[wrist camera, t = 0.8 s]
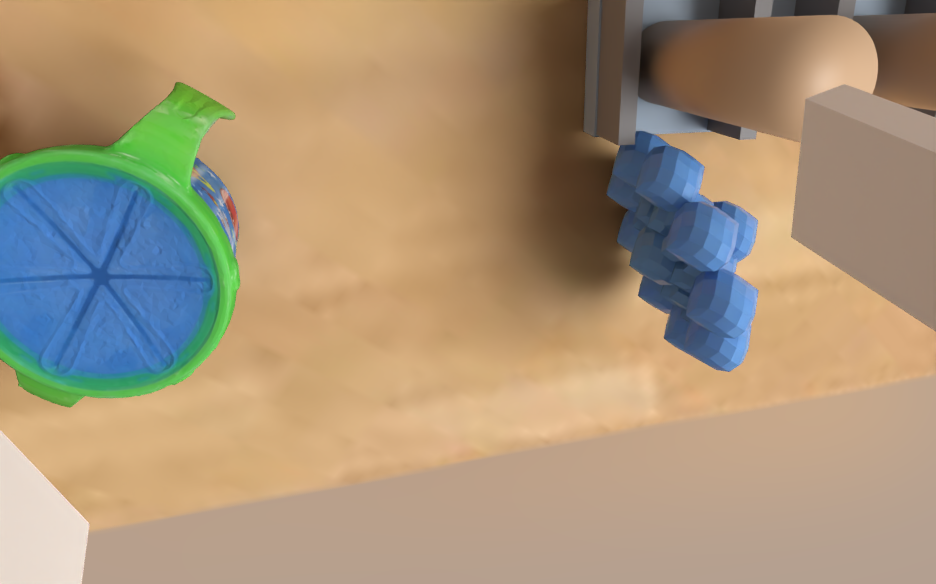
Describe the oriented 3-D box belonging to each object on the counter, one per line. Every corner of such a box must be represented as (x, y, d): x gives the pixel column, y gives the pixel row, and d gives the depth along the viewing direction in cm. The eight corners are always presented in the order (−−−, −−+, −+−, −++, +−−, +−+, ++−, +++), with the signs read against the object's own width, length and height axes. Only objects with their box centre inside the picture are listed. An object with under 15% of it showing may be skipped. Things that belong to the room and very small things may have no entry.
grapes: (721, 283, 41) (847, 376, 30) (616, 320, 41) (704, 426, 30) (686, 95, 37) (818, 123, 26) (569, 136, 37) (650, 182, 26)
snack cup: (181, 375, 39) (118, 484, 30) (-1, 275, 36) (-136, 363, 26) (335, 158, 36) (319, 204, 26) (150, 26, 33) (57, 25, 23)
